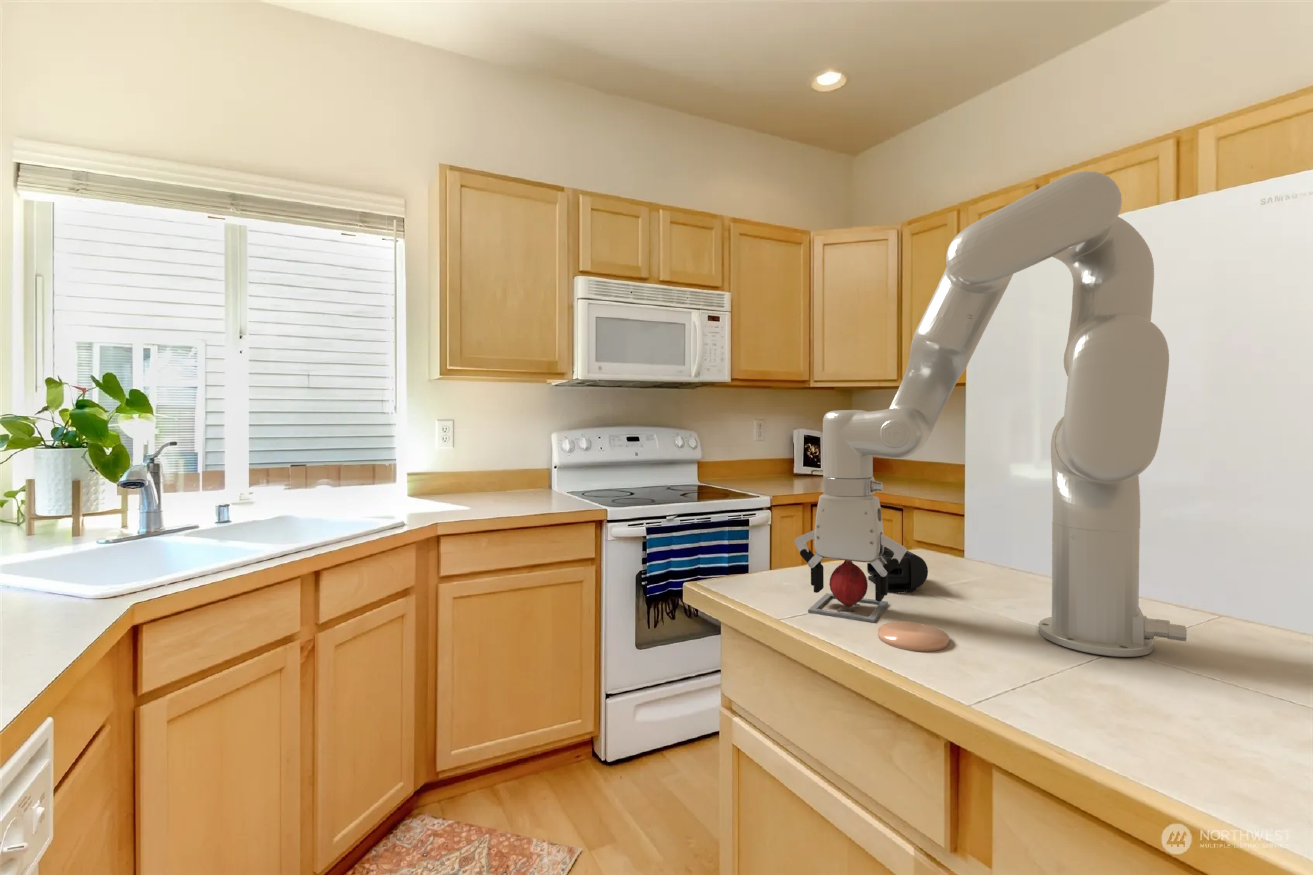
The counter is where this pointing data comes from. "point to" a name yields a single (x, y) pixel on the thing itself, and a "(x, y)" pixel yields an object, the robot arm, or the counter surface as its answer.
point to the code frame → (871, 618)
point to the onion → (848, 583)
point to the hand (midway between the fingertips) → (848, 594)
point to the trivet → (913, 636)
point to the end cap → (902, 572)
